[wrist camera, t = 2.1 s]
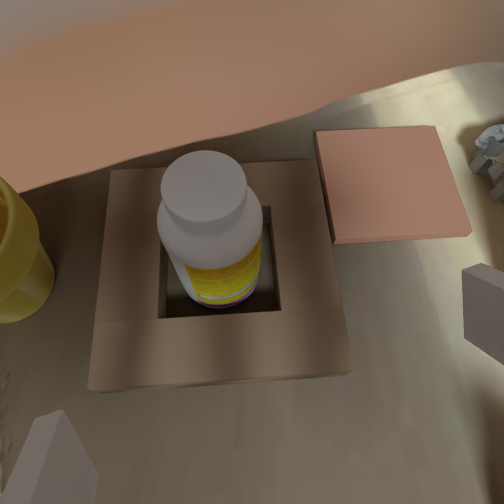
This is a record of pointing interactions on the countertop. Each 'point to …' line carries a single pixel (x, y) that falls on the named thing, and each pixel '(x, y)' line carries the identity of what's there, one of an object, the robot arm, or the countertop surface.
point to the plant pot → (21, 259)
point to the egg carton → (491, 146)
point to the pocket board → (217, 326)
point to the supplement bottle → (211, 228)
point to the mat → (389, 185)
